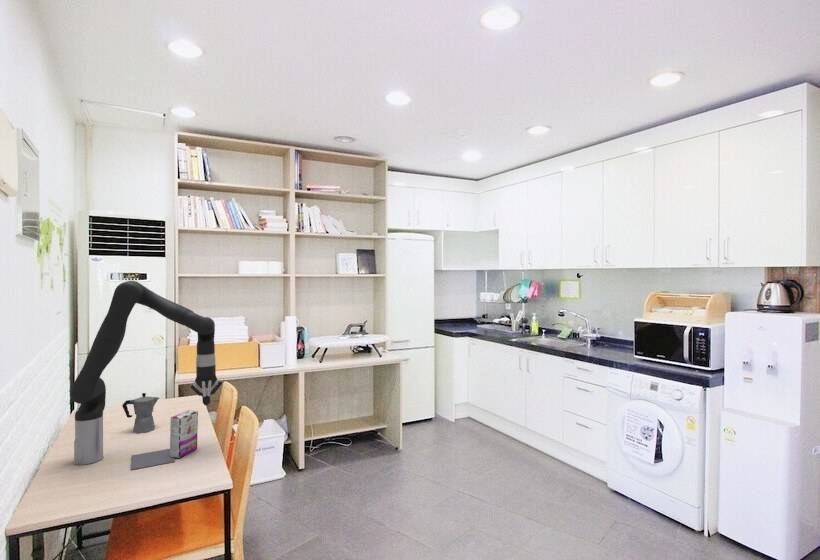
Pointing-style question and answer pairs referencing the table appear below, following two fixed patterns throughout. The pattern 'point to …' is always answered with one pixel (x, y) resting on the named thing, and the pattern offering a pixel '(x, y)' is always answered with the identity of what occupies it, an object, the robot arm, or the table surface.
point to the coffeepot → (142, 413)
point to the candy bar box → (183, 433)
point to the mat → (151, 459)
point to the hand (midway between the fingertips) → (206, 404)
